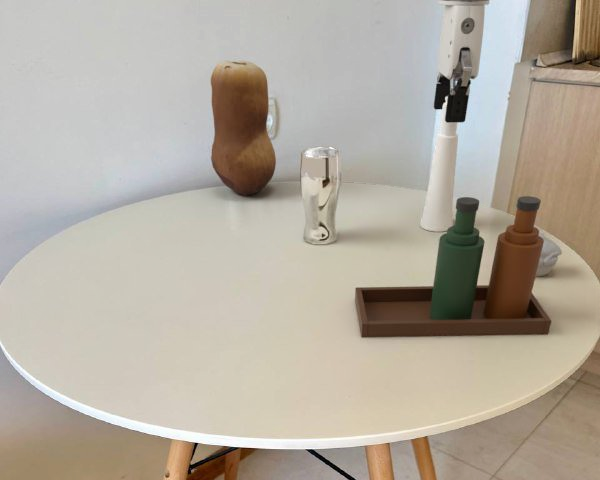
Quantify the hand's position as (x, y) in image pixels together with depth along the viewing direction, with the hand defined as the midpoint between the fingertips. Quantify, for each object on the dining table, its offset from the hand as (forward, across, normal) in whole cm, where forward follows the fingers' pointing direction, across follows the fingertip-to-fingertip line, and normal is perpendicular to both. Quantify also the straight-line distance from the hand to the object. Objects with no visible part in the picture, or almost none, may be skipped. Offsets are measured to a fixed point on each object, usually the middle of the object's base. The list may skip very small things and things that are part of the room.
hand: (448, 115), depth 100 cm
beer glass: (+20, -5, +22) cm, 30 cm away
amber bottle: (+18, -36, -3) cm, 41 cm away
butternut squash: (+20, +22, +37) cm, 47 cm away
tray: (+19, -36, +5) cm, 41 cm away
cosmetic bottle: (+19, 0, 0) cm, 19 cm away
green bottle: (+18, -36, +5) cm, 41 cm away
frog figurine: (+19, -22, -11) cm, 31 cm away
